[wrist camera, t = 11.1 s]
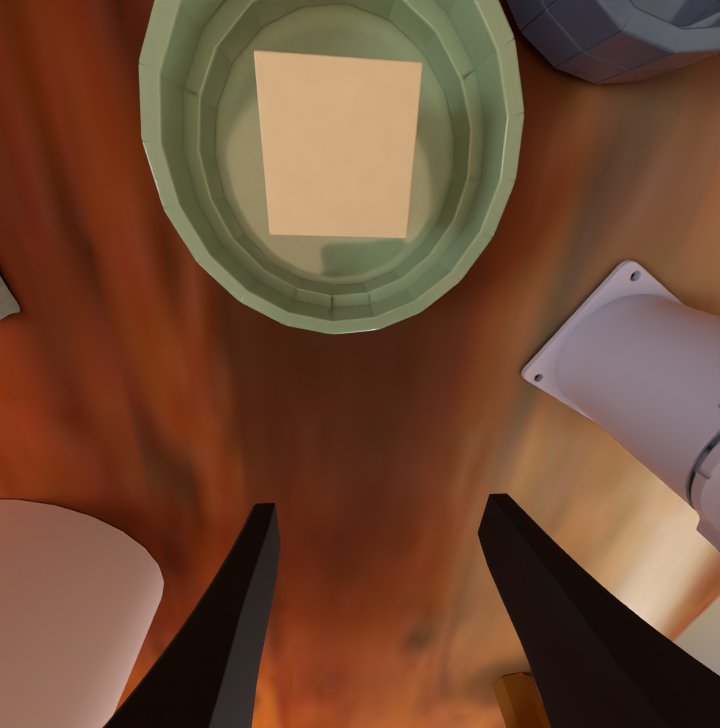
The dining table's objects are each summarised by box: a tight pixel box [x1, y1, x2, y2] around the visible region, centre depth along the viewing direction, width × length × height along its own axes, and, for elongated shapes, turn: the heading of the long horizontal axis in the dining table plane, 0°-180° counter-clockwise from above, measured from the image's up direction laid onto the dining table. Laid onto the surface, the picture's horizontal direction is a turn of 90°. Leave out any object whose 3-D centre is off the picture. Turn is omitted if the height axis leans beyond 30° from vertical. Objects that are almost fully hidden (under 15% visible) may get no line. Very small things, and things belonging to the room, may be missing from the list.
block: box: [254, 50, 423, 238], centre depth 12 cm, size 4×4×5 cm
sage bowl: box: [139, 0, 524, 334], centre depth 13 cm, size 12×12×4 cm
